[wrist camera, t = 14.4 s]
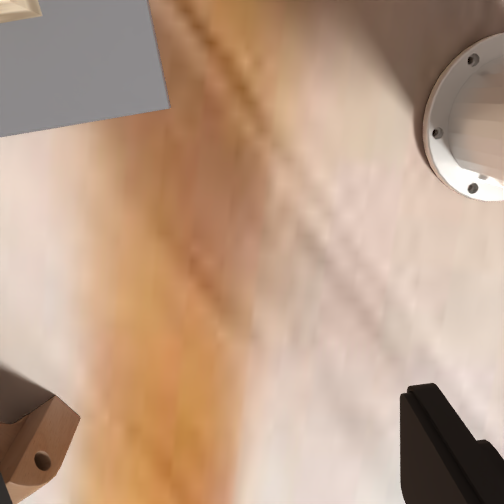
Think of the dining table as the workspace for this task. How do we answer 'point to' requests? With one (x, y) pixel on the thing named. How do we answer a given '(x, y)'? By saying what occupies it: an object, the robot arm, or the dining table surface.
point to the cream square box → (18, 10)
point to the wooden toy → (35, 447)
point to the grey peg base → (79, 65)
